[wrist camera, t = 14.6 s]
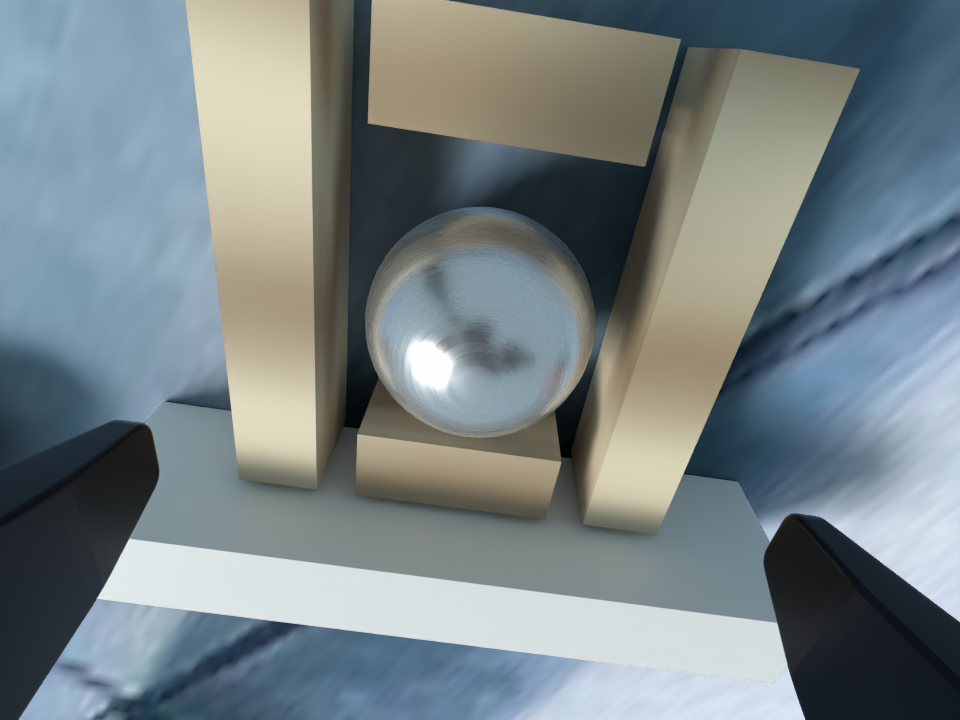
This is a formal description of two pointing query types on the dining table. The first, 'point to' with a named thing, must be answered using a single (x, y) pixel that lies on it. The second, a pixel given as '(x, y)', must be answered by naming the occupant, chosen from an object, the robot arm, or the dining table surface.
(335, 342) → the beech collar
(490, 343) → the steel ball
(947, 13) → the dining table surface
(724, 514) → the stop block
